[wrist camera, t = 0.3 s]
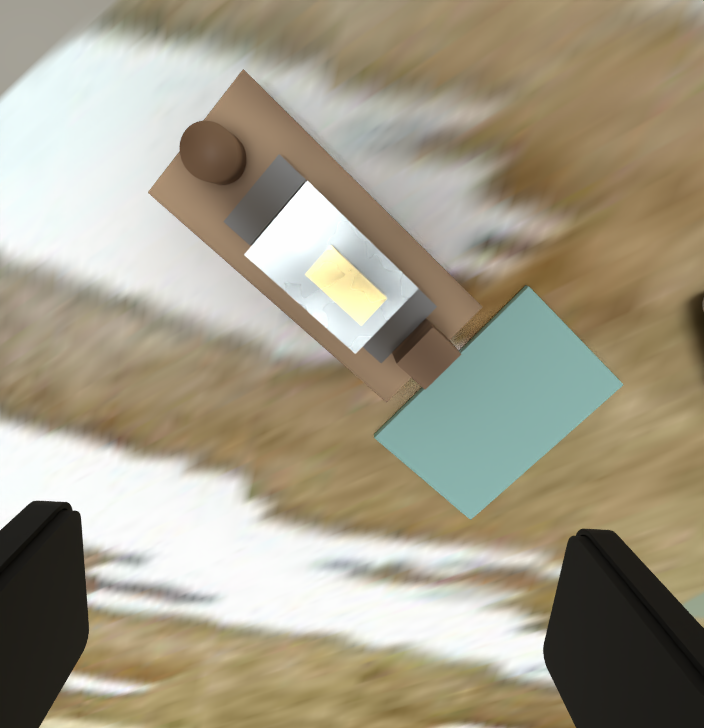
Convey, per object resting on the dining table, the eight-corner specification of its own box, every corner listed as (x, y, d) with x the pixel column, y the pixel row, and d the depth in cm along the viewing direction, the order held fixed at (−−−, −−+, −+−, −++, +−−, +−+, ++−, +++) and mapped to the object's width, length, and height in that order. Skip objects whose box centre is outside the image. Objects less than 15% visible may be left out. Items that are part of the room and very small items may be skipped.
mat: (525, 285, 36) (528, 286, 35) (619, 382, 38) (623, 384, 37) (373, 434, 39) (374, 437, 38) (468, 515, 41) (470, 519, 41)
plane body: (255, 86, 32) (227, 45, 24) (467, 297, 36) (502, 319, 28) (169, 195, 33) (119, 188, 26) (381, 383, 38) (392, 426, 30)
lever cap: (312, 186, 30) (306, 179, 24) (406, 277, 31) (420, 290, 26) (259, 248, 31) (241, 255, 25) (353, 333, 32) (355, 357, 27)
